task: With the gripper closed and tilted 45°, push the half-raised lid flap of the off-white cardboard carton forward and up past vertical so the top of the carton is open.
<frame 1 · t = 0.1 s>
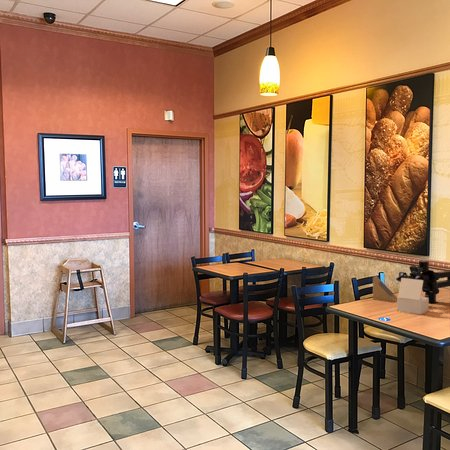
hand: (402, 280, 298), 17 cm above the table, tool horizontal, fingers open, 9 cm apart
sandwich container: (386, 300, 321), on the table
carton flap: (410, 288, 286), point 14 cm above the table, hinge at 65.0°
carton: (412, 311, 290), on the table
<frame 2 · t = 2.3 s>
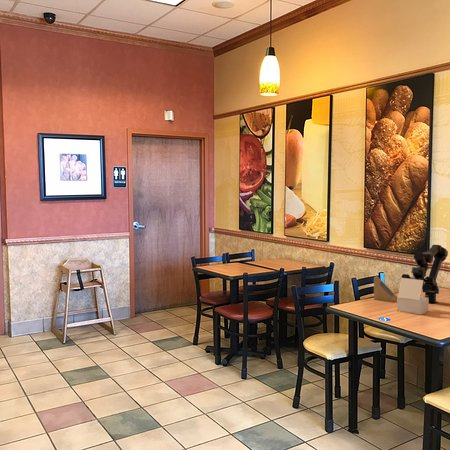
hand: (414, 291, 291), 12 cm above the table, tool tilted 45°, fingers closed
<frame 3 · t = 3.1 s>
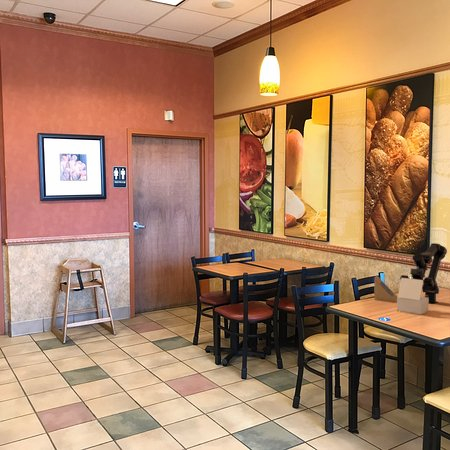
hand: (412, 292, 289), 11 cm above the table, tool tilted 45°, fingers closed
nothing on the table moved.
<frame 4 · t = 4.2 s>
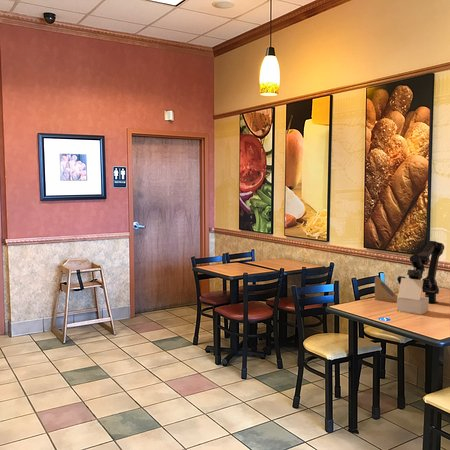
hand: (410, 293, 286), 11 cm above the table, tool tilted 45°, fingers closed, pressing on carton flap
carton flap: (410, 288, 286), point 14 cm above the table, hinge at 65.0°, touching gripper
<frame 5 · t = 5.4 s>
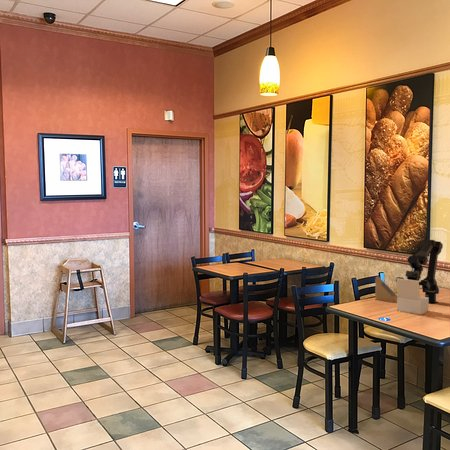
hand: (408, 295, 285), 11 cm above the table, tool tilted 40°, fingers closed, pressing on carton flap
carton flap: (408, 289, 284), point 14 cm above the table, hinge at 100.2°, touching gripper
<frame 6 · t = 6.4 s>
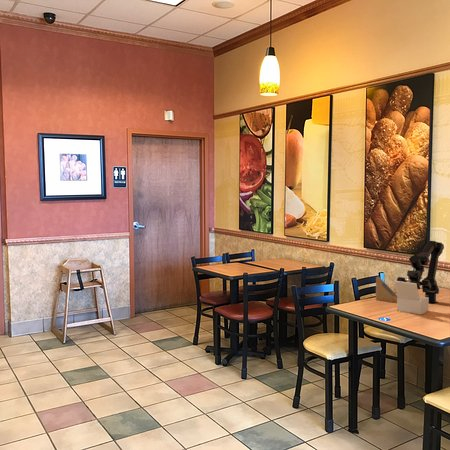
hand: (409, 294, 286), 11 cm above the table, tool tilted 45°, fingers closed
carton flap: (406, 290, 283), point 14 cm above the table, hinge at 115.9°
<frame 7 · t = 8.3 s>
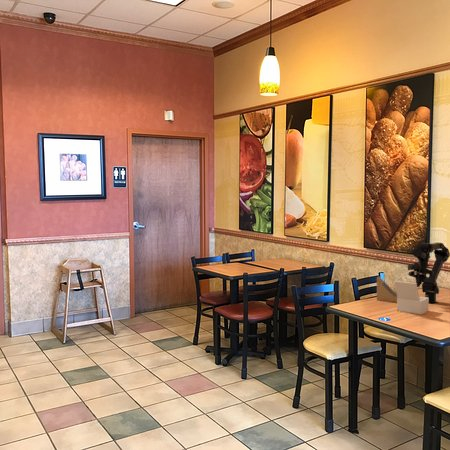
hand: (417, 286, 298), 13 cm above the table, tool tilted 25°, fingers closed
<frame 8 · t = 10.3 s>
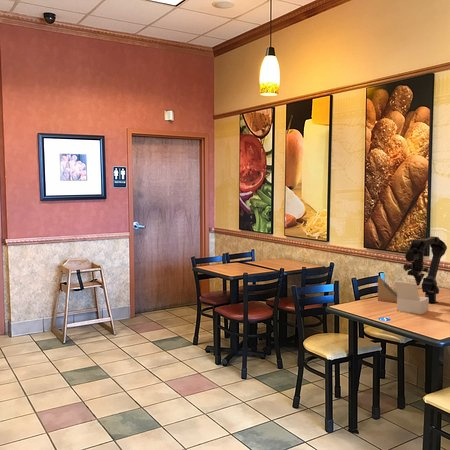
hand: (417, 285, 301), 13 cm above the table, tool pointing down, fingers closed
at the end: carton flap at +116° (first picture: +65°); sandwich container moved 3.3 cm from its start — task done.
